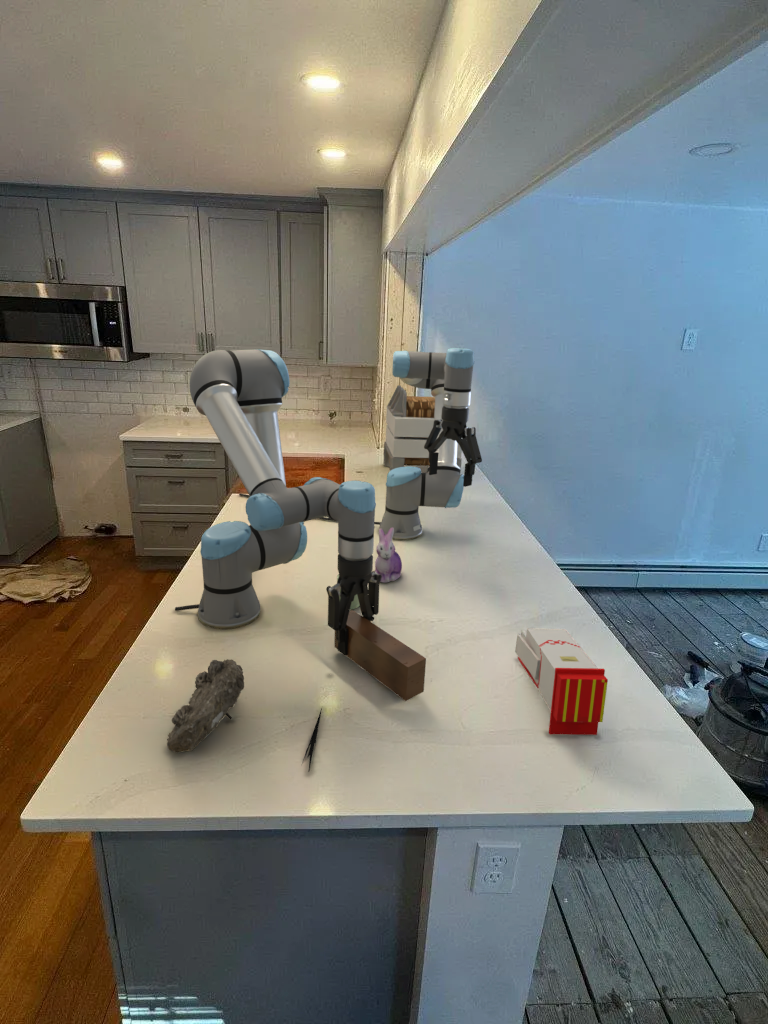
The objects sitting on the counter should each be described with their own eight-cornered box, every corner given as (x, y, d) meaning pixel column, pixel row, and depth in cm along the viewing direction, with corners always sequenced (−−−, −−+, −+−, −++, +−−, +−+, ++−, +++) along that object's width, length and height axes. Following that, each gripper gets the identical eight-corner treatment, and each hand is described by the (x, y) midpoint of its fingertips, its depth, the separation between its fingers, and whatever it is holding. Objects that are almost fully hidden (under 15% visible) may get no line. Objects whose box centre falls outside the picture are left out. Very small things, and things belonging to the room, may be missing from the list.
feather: (331, 679, 122) (336, 673, 122) (307, 777, 96) (313, 769, 95) (324, 675, 122) (329, 669, 121) (298, 772, 95) (304, 764, 95)
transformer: (382, 463, 289) (386, 382, 275) (445, 464, 293) (451, 384, 279) (390, 482, 257) (394, 392, 243) (460, 483, 261) (468, 394, 247)
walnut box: (334, 647, 129) (334, 616, 127) (351, 639, 132) (352, 609, 130) (405, 701, 112) (407, 667, 110) (423, 691, 115) (426, 658, 113)
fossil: (192, 660, 117) (244, 628, 112) (224, 691, 120) (276, 661, 115) (142, 746, 98) (202, 712, 93) (182, 779, 101) (242, 748, 96)
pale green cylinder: (331, 602, 152) (332, 575, 149) (350, 595, 156) (351, 569, 153) (346, 612, 147) (346, 584, 145) (365, 604, 151) (366, 577, 149)
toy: (561, 612, 132) (617, 675, 103) (556, 665, 135) (608, 741, 106) (510, 611, 132) (551, 674, 102) (505, 664, 134) (544, 741, 105)
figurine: (381, 586, 161) (383, 537, 156) (365, 571, 170) (367, 525, 165) (409, 580, 165) (412, 533, 160) (393, 566, 174) (395, 521, 169)
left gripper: (376, 539, 128) (373, 628, 136) (309, 558, 117) (310, 654, 125) (398, 550, 123) (393, 642, 131) (331, 571, 112) (329, 670, 120)
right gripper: (415, 400, 163) (410, 471, 171) (481, 414, 146) (473, 493, 153) (433, 398, 168) (428, 468, 175) (500, 412, 151) (491, 488, 158)
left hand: (352, 648), depth 128 cm, fingers closed on walnut box, 5 cm apart
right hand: (449, 479), depth 164 cm, fingers open, 13 cm apart
